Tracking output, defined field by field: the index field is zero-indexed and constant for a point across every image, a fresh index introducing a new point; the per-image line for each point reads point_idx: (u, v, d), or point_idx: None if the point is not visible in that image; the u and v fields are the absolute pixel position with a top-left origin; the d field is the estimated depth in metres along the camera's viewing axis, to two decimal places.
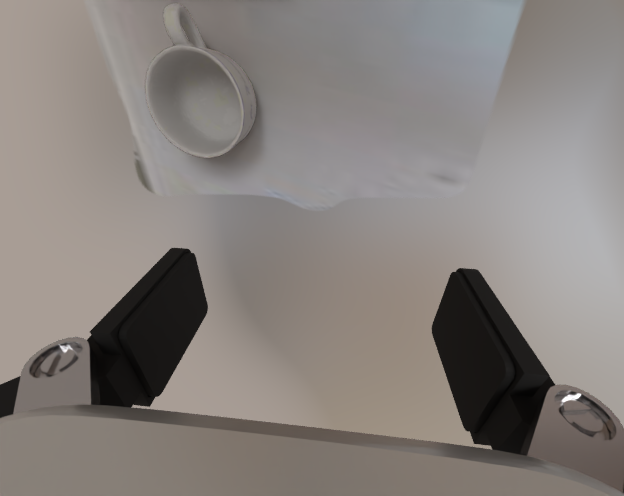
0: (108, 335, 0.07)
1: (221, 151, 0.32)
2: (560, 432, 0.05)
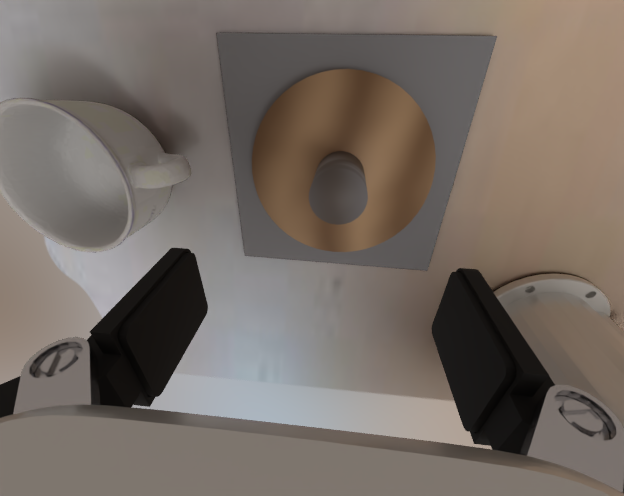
0: (108, 335, 0.07)
1: (19, 208, 0.21)
2: (560, 432, 0.05)
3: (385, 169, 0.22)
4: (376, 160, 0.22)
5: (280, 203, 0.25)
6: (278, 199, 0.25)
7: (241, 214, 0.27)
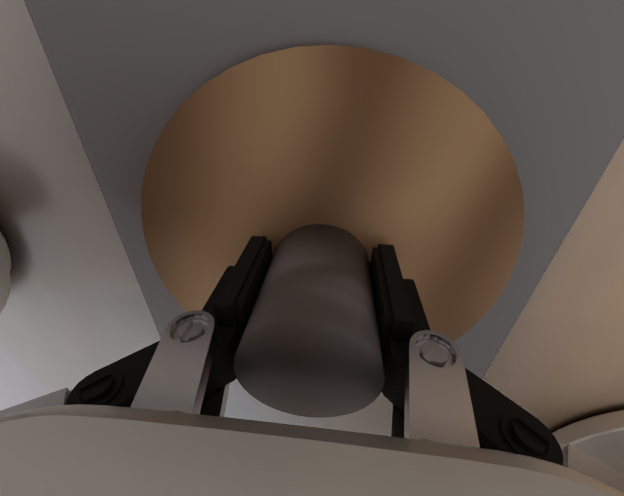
0: (229, 308, 0.07)
1: None
2: (425, 375, 0.06)
3: (412, 258, 0.11)
4: (395, 242, 0.11)
5: None
6: None
7: (153, 310, 0.16)
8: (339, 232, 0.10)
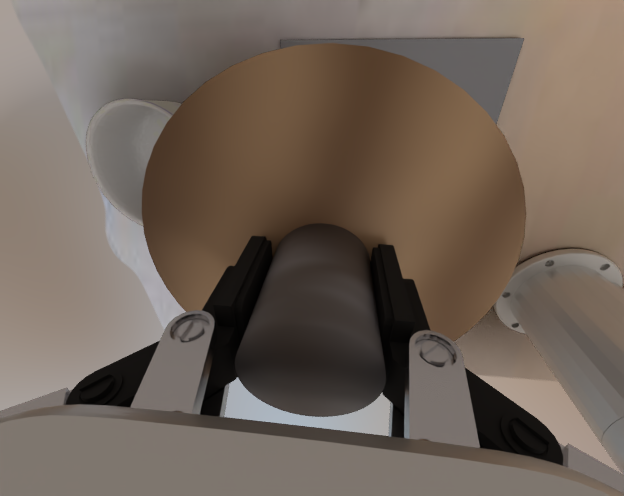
0: (229, 308, 0.07)
1: (109, 194, 0.25)
2: (425, 375, 0.06)
3: (414, 257, 0.11)
4: (396, 241, 0.11)
5: None
6: None
7: None
8: (340, 231, 0.10)
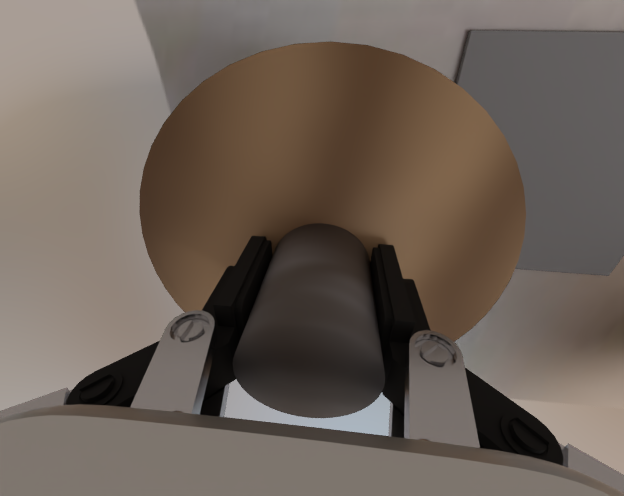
0: (229, 308, 0.07)
1: None
2: (425, 375, 0.06)
3: (413, 257, 0.11)
4: (395, 241, 0.11)
5: None
6: (207, 299, 0.13)
7: None
8: (339, 231, 0.10)
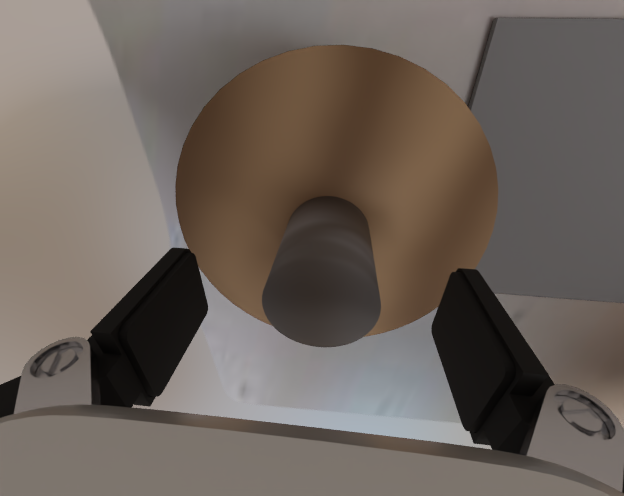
0: (109, 335, 0.07)
1: None
2: (559, 431, 0.05)
3: (406, 227, 0.13)
4: (391, 212, 0.13)
5: (231, 270, 0.15)
6: (227, 265, 0.15)
7: None
8: (345, 202, 0.12)
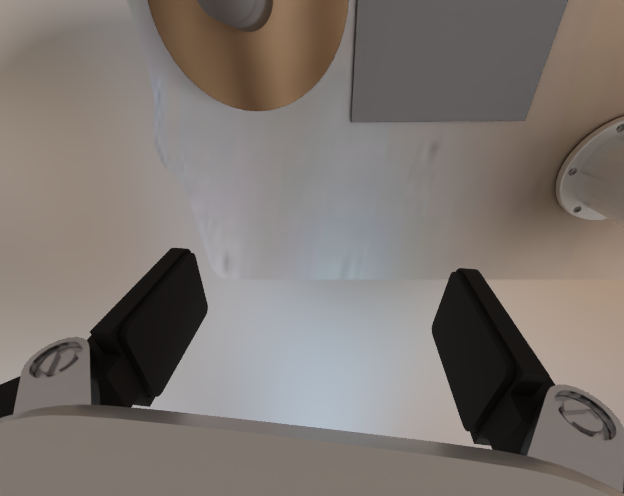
0: (108, 335, 0.07)
1: None
2: (560, 432, 0.05)
3: None
4: None
5: (187, 44, 0.22)
6: (183, 39, 0.22)
7: (355, 72, 0.29)
8: None
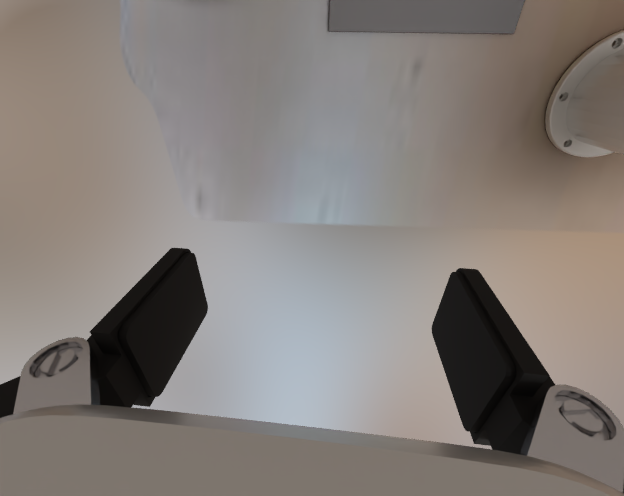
0: (108, 335, 0.07)
1: None
2: (560, 432, 0.05)
3: None
4: None
5: None
6: None
7: None
8: None
